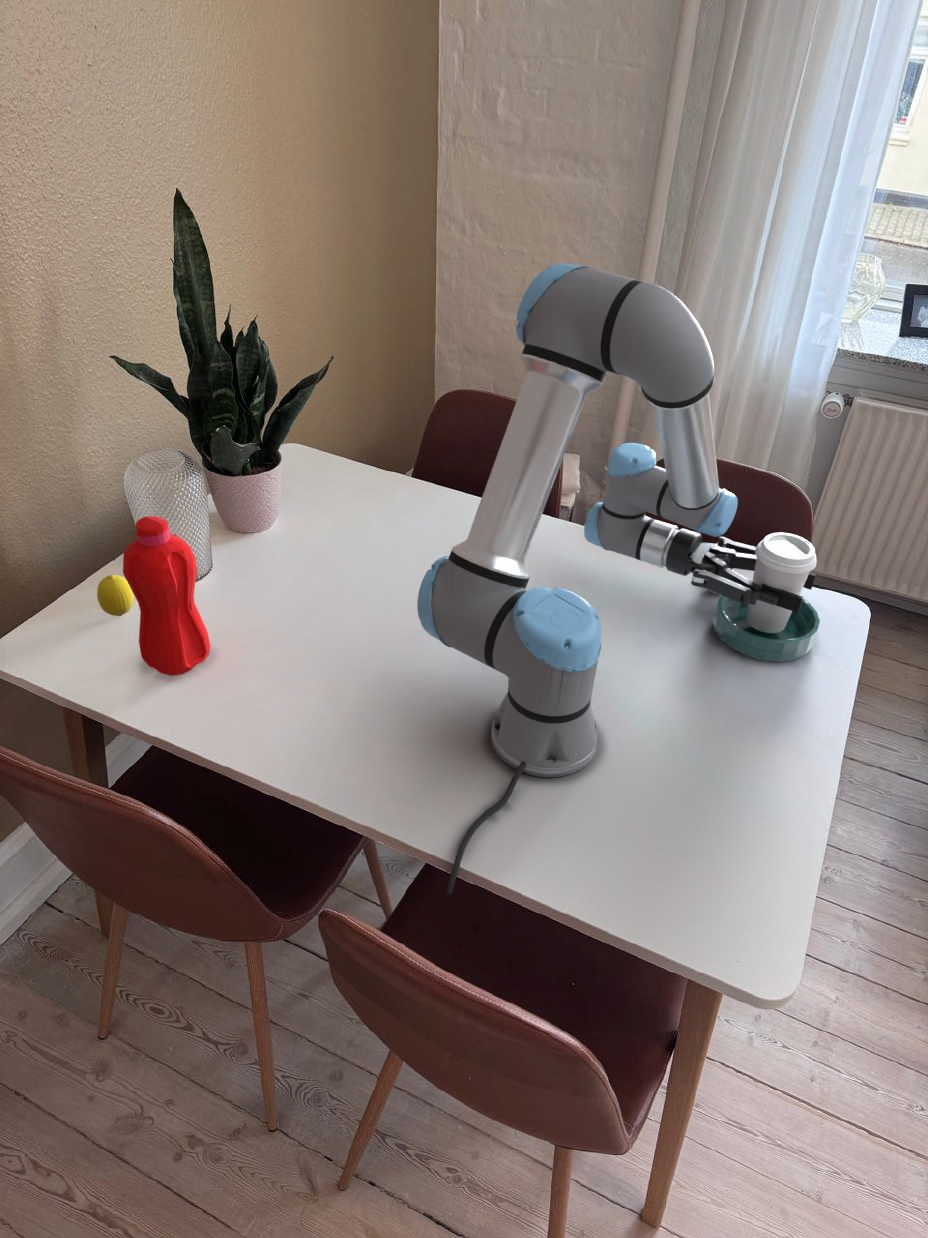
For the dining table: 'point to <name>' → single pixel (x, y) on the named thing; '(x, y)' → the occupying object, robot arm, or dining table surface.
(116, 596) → the lemon
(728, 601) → the bowl
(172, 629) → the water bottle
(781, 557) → the coffee cup
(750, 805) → the dining table surface
